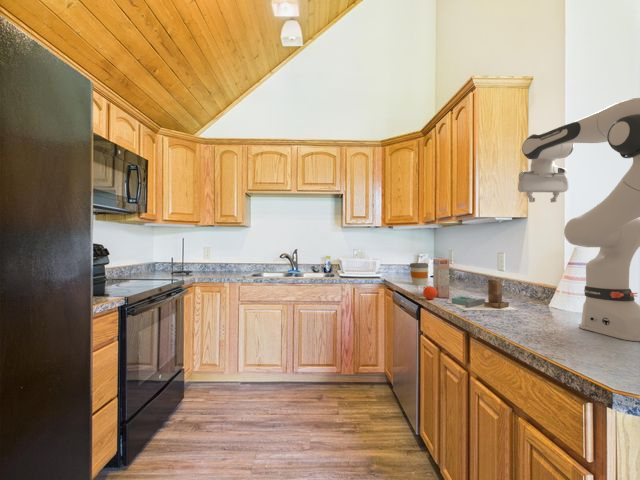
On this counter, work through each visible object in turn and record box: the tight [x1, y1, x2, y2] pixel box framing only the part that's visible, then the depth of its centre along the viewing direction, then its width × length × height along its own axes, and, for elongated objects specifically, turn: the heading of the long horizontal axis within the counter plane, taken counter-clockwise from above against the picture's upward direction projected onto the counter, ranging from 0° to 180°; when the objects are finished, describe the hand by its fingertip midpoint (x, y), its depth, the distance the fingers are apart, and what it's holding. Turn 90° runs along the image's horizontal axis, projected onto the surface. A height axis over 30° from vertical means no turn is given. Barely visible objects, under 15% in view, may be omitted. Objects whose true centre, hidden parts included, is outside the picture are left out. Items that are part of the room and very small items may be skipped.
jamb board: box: [446, 298, 519, 313], centre depth 146 cm, size 20×23×4 cm
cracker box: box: [432, 257, 450, 299], centre depth 178 cm, size 14×6×21 cm, turn 171°
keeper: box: [484, 301, 510, 309], centre depth 143 cm, size 7×8×2 cm
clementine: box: [422, 285, 437, 301], centre depth 168 cm, size 8×7×7 cm
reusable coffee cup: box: [409, 262, 429, 286], centre depth 228 cm, size 13×13×15 cm
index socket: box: [451, 296, 477, 305], centre depth 151 cm, size 8×8×2 cm
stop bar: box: [487, 278, 503, 304], centre depth 143 cm, size 4×4×12 cm
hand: (542, 202), depth 141 cm, fingers open, 8 cm apart
